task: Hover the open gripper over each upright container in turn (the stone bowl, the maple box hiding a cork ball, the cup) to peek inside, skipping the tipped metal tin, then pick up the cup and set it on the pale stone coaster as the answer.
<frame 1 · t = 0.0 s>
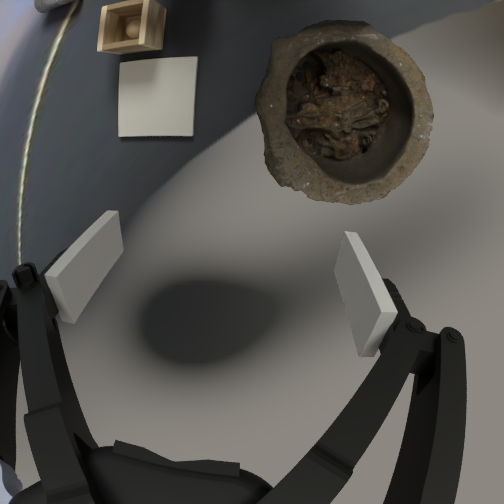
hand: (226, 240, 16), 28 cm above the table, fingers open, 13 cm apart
cork ball: (140, 30, 30), point 1 cm above the table, touching maple box
maple box: (142, 31, 30), on the table
coaster: (156, 96, 36), on the table
stone bowl: (341, 111, 37), on the table
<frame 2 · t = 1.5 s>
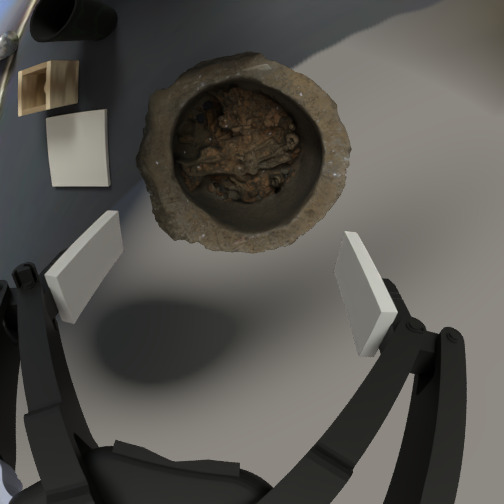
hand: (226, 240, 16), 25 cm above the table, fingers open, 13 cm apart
maple box: (61, 85, 31), on the table
coaster: (77, 149, 37), on the table
stone bowl: (249, 150, 37), on the table
tipped tin: (5, 49, 25), on the table
cup: (101, 24, 27), on the table
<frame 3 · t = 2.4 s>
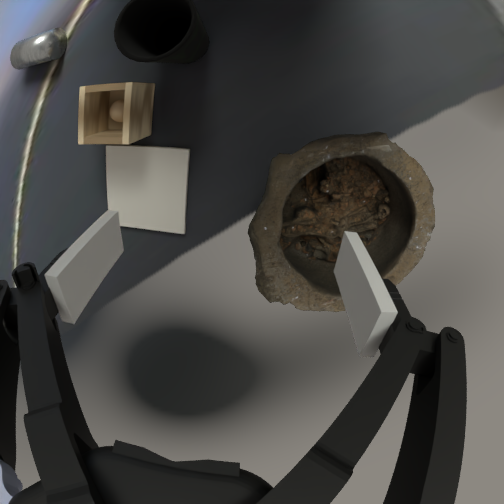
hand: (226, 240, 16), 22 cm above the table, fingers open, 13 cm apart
cork ball: (126, 109, 31), point 1 cm above the table, touching maple box
maple box: (128, 109, 32), on the table
coaster: (146, 188, 38), on the table
stone bowl: (339, 213, 39), on the table
tipped tin: (47, 49, 26), on the table
cup: (187, 43, 28), on the table
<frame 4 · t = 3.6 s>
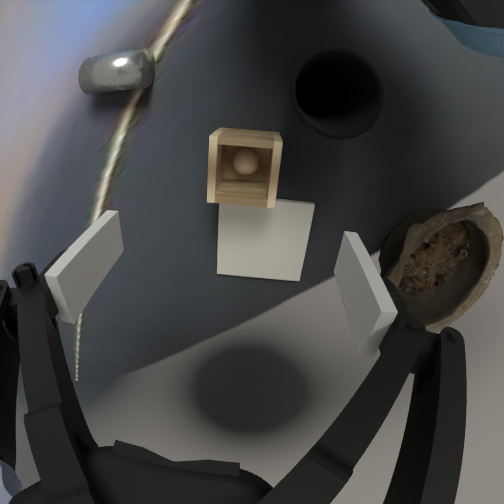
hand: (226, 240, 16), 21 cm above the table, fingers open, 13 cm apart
cork ball: (246, 158, 33), point 1 cm above the table, touching maple box
maple box: (247, 157, 34), on the table
coaster: (262, 238, 40), on the table
stone bowl: (428, 255, 40), on the table
tipped tin: (125, 71, 28), on the table
cup: (313, 92, 29), on the table
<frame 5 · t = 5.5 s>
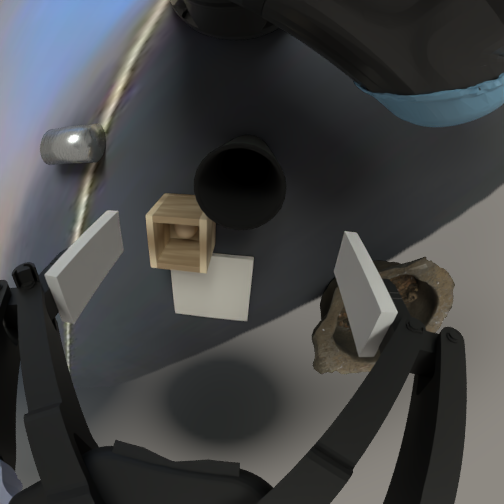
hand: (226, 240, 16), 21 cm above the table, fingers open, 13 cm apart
cork ball: (188, 221, 38), point 1 cm above the table, touching maple box
maple box: (190, 219, 38), on the table
coaster: (211, 286, 44), on the table
stone bowl: (376, 297, 45), on the table
tipped tin: (82, 140, 32), on the table
cup: (247, 156, 34), on the table
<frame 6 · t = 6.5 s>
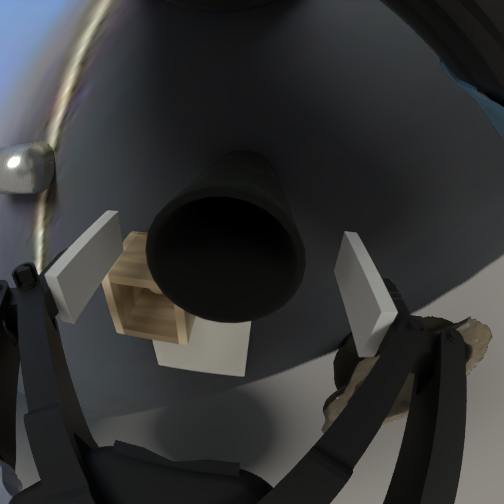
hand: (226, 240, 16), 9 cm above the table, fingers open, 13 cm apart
maple box: (167, 264, 28), on the table
coaster: (199, 339, 34), on the table
stone bowl: (399, 347, 35), on the table
tipped tin: (29, 161, 22), on the table
cup: (242, 182, 24), on the table
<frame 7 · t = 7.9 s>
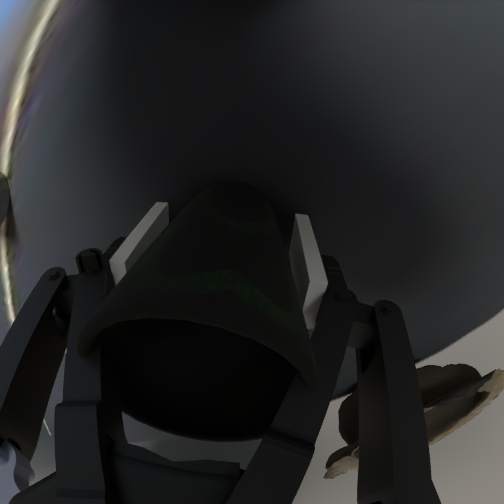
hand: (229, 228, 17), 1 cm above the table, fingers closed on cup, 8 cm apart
stone bowl: (410, 389, 29), on the table
cup: (231, 221, 18), on the table, touching gripper
when the fingers open (3 cm above the table, at t = 13.4 s): cup drops 1 cm, resting on coaster.
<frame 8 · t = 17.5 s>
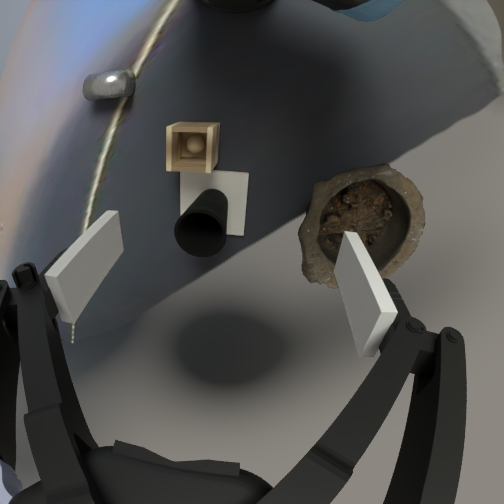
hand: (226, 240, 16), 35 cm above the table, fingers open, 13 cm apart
cork ball: (197, 142, 45), point 1 cm above the table, touching maple box
maple box: (198, 141, 46), on the table
coaster: (213, 201, 52), on the table
stone bowl: (356, 216, 53), on the table
tipped tin: (115, 84, 40), on the table
cup: (212, 202, 51), point 1 cm above the table, touching coaster
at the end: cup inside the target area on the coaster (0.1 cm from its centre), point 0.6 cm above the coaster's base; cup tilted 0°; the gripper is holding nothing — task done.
